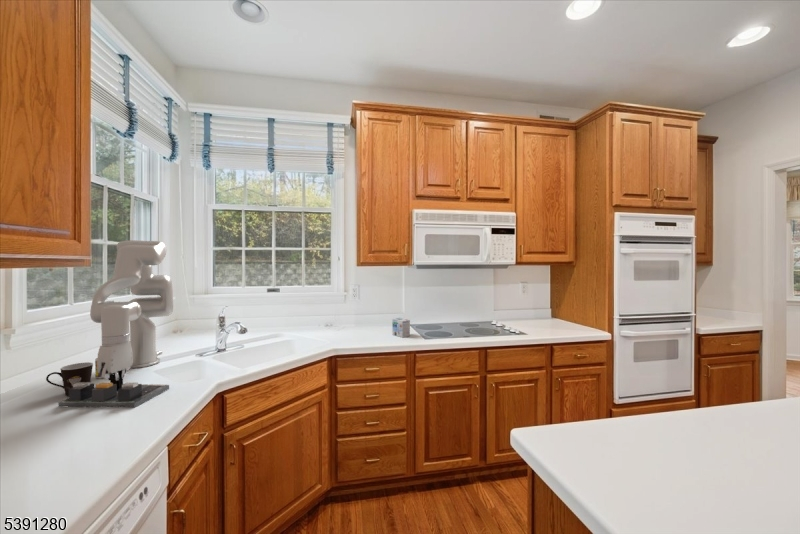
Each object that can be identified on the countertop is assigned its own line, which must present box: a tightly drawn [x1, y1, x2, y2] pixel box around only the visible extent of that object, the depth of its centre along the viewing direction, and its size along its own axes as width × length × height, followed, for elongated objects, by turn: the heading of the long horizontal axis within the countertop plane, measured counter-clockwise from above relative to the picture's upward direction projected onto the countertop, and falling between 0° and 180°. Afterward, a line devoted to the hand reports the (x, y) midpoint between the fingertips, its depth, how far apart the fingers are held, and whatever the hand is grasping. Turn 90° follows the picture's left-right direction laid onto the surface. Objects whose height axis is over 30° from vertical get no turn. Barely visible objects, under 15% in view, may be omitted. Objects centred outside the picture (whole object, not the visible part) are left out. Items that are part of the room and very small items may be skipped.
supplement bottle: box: [94, 357, 102, 380], centre depth 138 cm, size 6×6×10 cm
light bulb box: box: [391, 317, 411, 338], centre depth 215 cm, size 11×7×11 cm, turn 41°
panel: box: [57, 382, 170, 408], centre depth 118 cm, size 16×26×7 cm, turn 89°
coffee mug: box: [45, 361, 94, 397], centre depth 121 cm, size 12×9×10 cm
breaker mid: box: [92, 382, 117, 401], centre depth 113 cm, size 5×4×5 cm
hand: (116, 390), depth 117 cm, fingers closed
